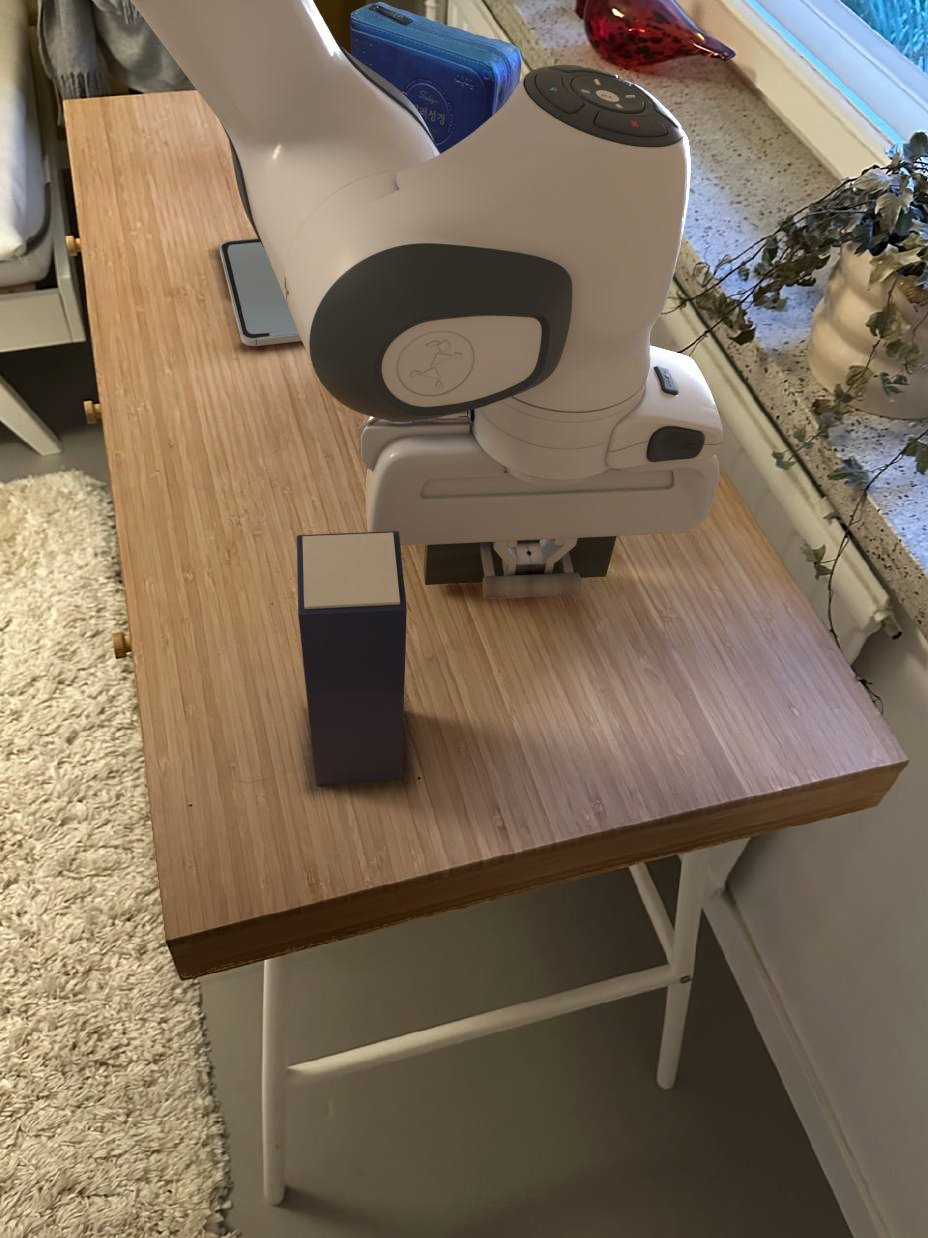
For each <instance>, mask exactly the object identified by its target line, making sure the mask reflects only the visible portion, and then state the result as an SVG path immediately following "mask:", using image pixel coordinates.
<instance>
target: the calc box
mask: <svg viewBox="0 0 928 1238" xmlns="http://www.w3.org/2000/svg"><path fill="white" fill-rule="evenodd" d="M401 548H402V546H400V537H399V531H386V532H368V531H366V532H345V533H344V532H341V533H339V532H338V533H316V534H297V535H296V574H297V575H296V576H297V578H296V579H297V619H298V627H299V637H300V647H301V656H302V665H303V675H304V684H305V695H306V703H307V704H306V706H307V714H308V724H309V730H310V731H309V733H310V741H311V743H310V744H311V752H312V761H313V763H312V764H313V771H314V772H313V773H314V781H315V785H316V786H325V785H339V784H354V783H366V782H367V783H368V782H369V783H370V782H381V781H383V782H384V781H396V780H402V779H403V750H404V749H403V746H404V720H405V719H404V717H405V715H404V714H405V687H406V686H405V685H406V684H405V683H406V681H405V680H406V655H407V653H406V652H407V651H406V649H407V620H408V619H407V618H408V617H407V616H408V607H407V597H406V596H407V595H406V588H405V587H406V586H405V578H404V568H403V557H402V549H401Z"/></svg>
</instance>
